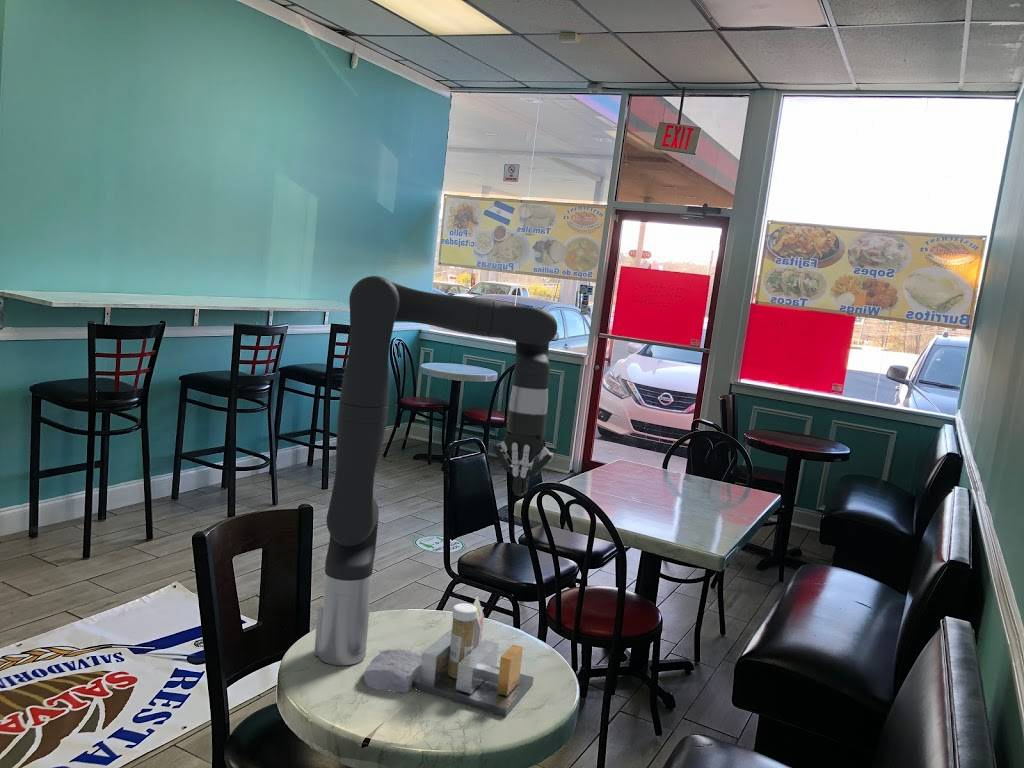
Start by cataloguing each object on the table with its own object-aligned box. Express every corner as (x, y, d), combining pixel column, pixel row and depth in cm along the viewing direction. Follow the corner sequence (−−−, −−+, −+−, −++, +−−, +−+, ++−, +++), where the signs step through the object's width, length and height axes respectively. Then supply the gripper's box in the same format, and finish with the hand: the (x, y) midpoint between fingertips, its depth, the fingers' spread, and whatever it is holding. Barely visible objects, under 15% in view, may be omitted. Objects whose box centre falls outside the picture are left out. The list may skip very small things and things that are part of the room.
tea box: (459, 653, 168) (464, 607, 167) (464, 639, 175) (468, 595, 174) (477, 655, 168) (482, 609, 167) (481, 641, 174) (485, 597, 173)
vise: (411, 688, 152) (415, 652, 151) (445, 659, 165) (448, 626, 164) (505, 717, 145) (509, 680, 144) (532, 684, 158) (536, 650, 157)
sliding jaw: (455, 689, 149) (459, 653, 148) (482, 663, 160) (485, 629, 160) (500, 702, 146) (504, 666, 145) (524, 675, 157) (528, 641, 156)
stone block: (359, 696, 151) (411, 696, 149) (357, 671, 150) (409, 670, 149) (381, 670, 162) (429, 669, 160) (378, 647, 162) (427, 646, 160)
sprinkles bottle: (473, 679, 154) (479, 611, 153) (449, 680, 153) (456, 612, 151) (467, 668, 159) (473, 602, 157) (444, 669, 157) (450, 602, 156)
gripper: (565, 412, 161) (556, 497, 163) (504, 402, 166) (496, 485, 168) (553, 416, 155) (544, 505, 157) (490, 406, 159) (481, 492, 161)
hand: (519, 494), depth 162 cm, fingers closed
